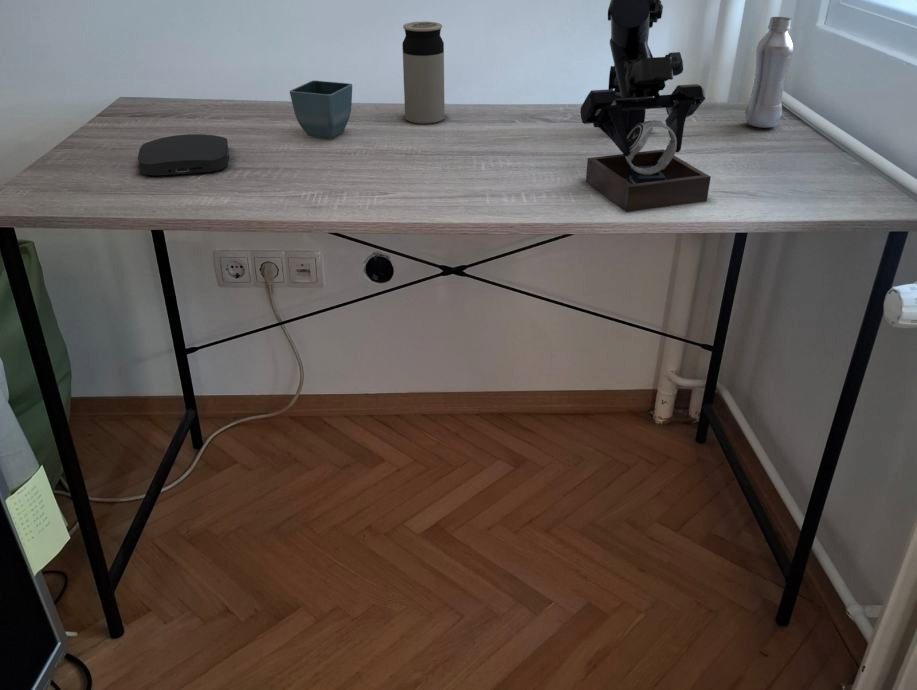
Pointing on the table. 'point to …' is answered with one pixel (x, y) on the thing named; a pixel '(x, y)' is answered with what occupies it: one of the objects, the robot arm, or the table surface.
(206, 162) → the media streaming box
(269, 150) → the table surface
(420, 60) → the travel mug
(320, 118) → the flower pot
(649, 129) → the watch
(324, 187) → the table surface
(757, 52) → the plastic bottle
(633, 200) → the tray
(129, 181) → the table surface
